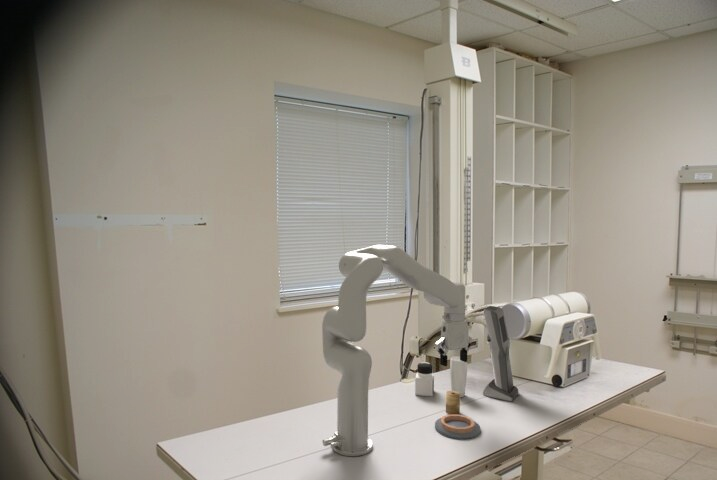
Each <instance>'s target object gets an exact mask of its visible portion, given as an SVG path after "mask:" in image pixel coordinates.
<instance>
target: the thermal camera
mask: <svg viewBox="0 0 717 480" xmlns="http://www.w3.org/2000/svg"><path fill="white" fill-rule="evenodd" d="M483 316H484V321H485V323H484V324H485V326H486V332H487V336H486V344H488V345H489V346H490V355H491V363H492V370H493V376H494V378H493V379H492V380H491V381H490V382H489V383H488V384H487V385H486V386H485V387H484V389H483V391H482V394H483V396H485V397H488V398H491V399H497V400H502V401H506V402H512V403H513V402H514V400H515V399H516V398H517V396H518V395H519V389H518V387H517V386H515V385H514V379H513V373H512V372H513V371H512V365H511V358H510V353H509V351H510V347H511V346H510V344H511V343H510V337H509V333H508V328H507V323H506V318H505V313H504V310H503V308H501V307H499V306H493V305H489V306H487V307H486V308H483Z"/></svg>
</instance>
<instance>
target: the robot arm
mask: <svg viewBox="0 0 717 480" xmlns="http://www.w3.org/2000/svg"><path fill="white" fill-rule="evenodd" d="M338 270H339V272H340V273H341V275H343V277H345V278H344V280H343V281H342V283H341V285H340V287H339V291H338V299H337V300H338V301H337V302H338V303H337V306H333V307H330V308H329V309H328V310H327V311H326V312H325V314H324V316H323V320H322V327H321V328H322V329H321V331H322V332H321V333H322V335H321V336H322V355H323V360H324V362H325V364H326V365H327V366H328V367H329V368H331V369H333V370H335V371H337V372H338V373H340V374H341V377H340V381H339V383H338V386H337V392H336V394H337V410H336V411H337V412H336V413H337V419H336V420H337V421H336V426H337V427H336V428H337V430H336V431H334V432H333V435H332V436H331V437H330V438H329V437H327V438H324V439H322V444H323V446H324V447H327V446H330V448H332V450H333V451H334V452H336V453H337V454H339V455H342V456H345V457H359V456H364V455H366V454H368V453H369V452H371V450H372V449H373V448H374V447H373V446H374V442H373V440H372V439H371V438H370V437H369V384H370V383H369V382H370V375H371V371H372V365H373V361H372V359H373V358H372V356H371V355H370V353H369V351H368V350H366V348H365V347H362V346H361V345H357V344H354V343H357V342H360V341H362V340H363V339H364V338H365V336H366V334H367V295H368V292H369V290H370V289H371V286H372V285H373V284H374V283H376V281H377V280H378V279H379V278H380V277H381V276H382V273H383V271H386V272H388V273H390V274H391V275H392V276H394V277H395V279H398V280H399V281H401V282H402V283H403V284H404V285H406V286H407V287H409V288H411V289H413V290H416V291H420V292H423V298H424V300H425V301H426V302H427V303H428V304H431V305H435V306H439V307H443V315H442V325H441V330H440V339H439V340H437V341H436V342H434V347H435V348H436V352H438V355H440V356H439V364H440V365H442V366H444V367H447V366H448V352H449V351H455V350H459V357H460V360H461V361H464V362H467V363H468V352H469V351H470V347H471V346H472V342H473V337H472V336H470V335H469V326H468V322H467V320H466V286H465V284H464V283H461V282H453V281H451V280H450V279H449V278H447V277H445V276H443V275H442V274H440V273H437V272H436V271H433V270H432V269H430V268H428V267H426V266H424V265H423V264H421V263H420V262H418V261H417V260H416V259H415V258H414V257H412V256H411V255H410V254H409V253H407V252H406V251H404V250H403V248H400V247H398V246H396V245H388V244H375V245H372V246H368V247H364V248H360V249H357V250H352V251H348V252H346V253H344V254H343V255H342V256H341V257H340V259H339V262H338Z"/></svg>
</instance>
